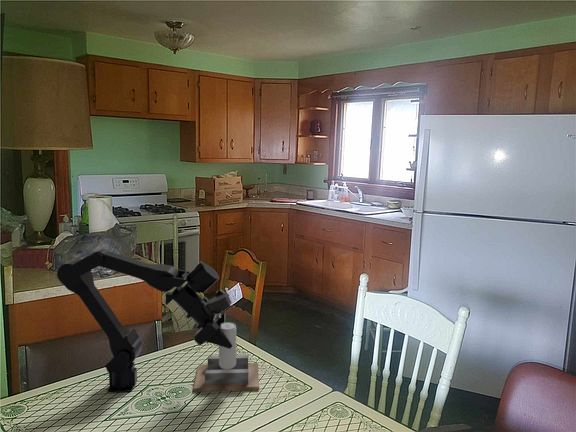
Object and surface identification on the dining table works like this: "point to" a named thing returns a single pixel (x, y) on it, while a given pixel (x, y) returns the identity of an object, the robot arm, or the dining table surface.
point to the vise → (227, 376)
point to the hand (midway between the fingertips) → (232, 343)
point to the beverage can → (225, 354)
